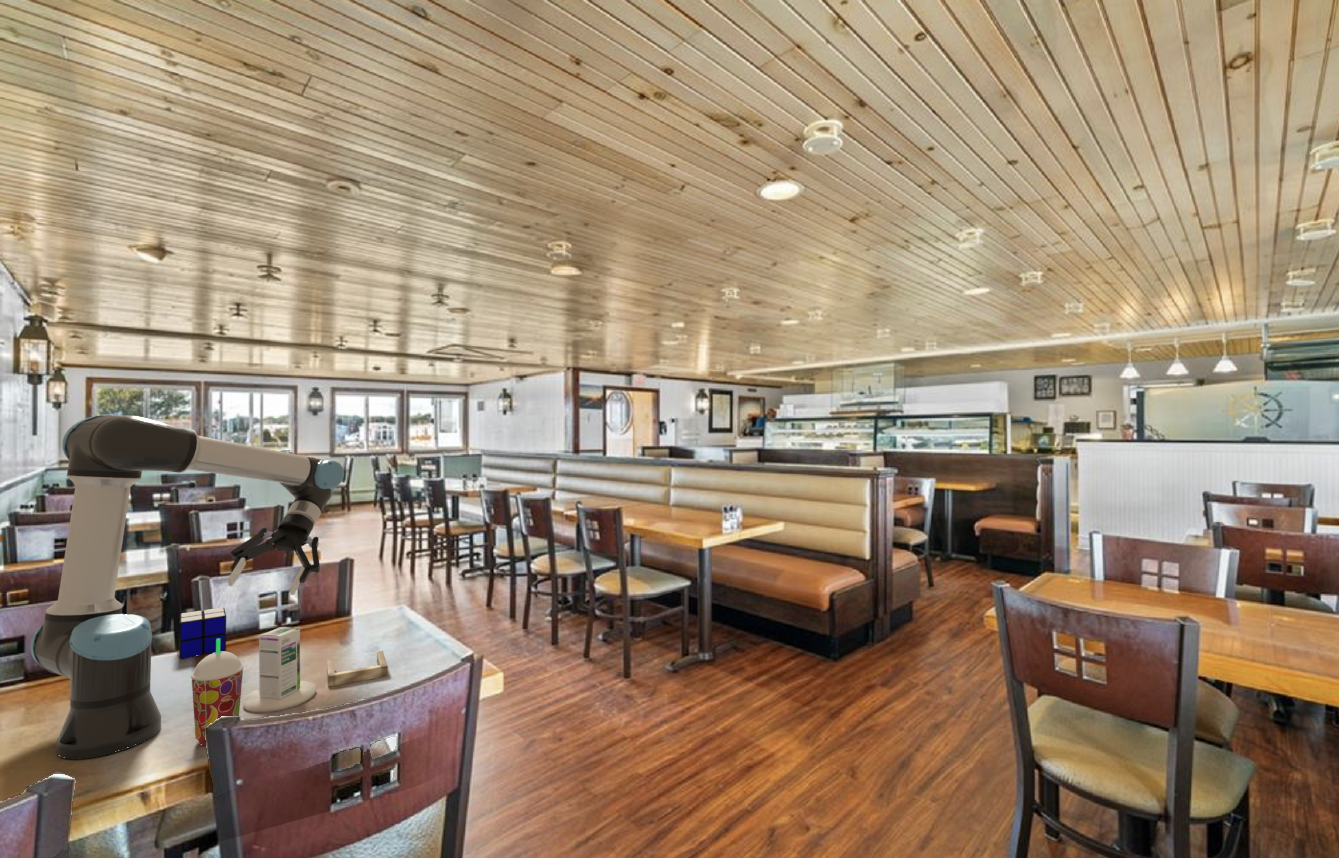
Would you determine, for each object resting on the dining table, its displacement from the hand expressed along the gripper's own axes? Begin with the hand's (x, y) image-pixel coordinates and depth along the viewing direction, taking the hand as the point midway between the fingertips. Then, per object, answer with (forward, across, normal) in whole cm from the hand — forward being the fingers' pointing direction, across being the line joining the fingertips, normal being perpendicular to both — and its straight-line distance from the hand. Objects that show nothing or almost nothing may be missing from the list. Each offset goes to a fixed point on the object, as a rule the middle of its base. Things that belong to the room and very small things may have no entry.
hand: (261, 587), depth 145 cm
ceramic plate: (+21, -13, -9) cm, 27 cm away
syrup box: (+21, -12, -9) cm, 26 cm away
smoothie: (+35, -8, +1) cm, 36 cm away
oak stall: (+10, -26, -15) cm, 31 cm away
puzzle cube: (-2, +18, -39) cm, 43 cm away
